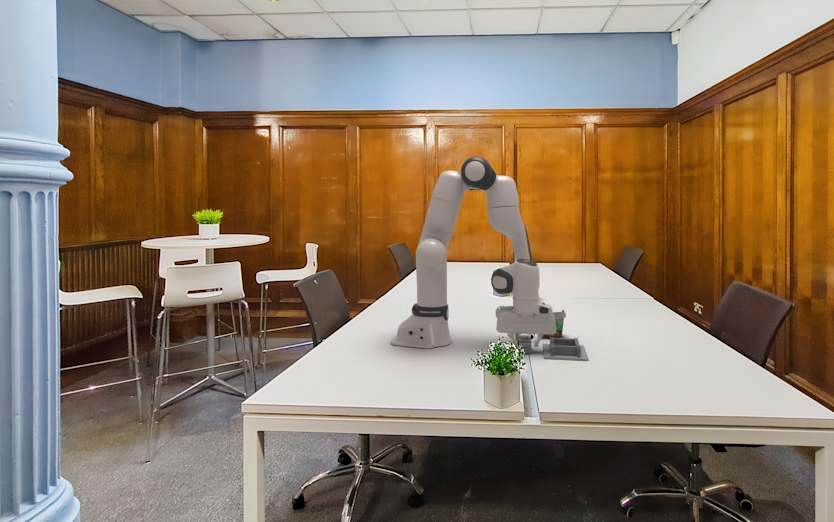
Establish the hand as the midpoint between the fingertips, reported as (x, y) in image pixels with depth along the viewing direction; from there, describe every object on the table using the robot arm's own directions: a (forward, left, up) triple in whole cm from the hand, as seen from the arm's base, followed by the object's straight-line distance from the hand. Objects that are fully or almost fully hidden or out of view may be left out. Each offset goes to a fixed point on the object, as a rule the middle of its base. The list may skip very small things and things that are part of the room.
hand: (525, 345), depth 180 cm
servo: (0, 0, -2) cm, 2 cm away
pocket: (+13, 0, -2) cm, 13 cm away
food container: (+10, +20, -2) cm, 22 cm away
